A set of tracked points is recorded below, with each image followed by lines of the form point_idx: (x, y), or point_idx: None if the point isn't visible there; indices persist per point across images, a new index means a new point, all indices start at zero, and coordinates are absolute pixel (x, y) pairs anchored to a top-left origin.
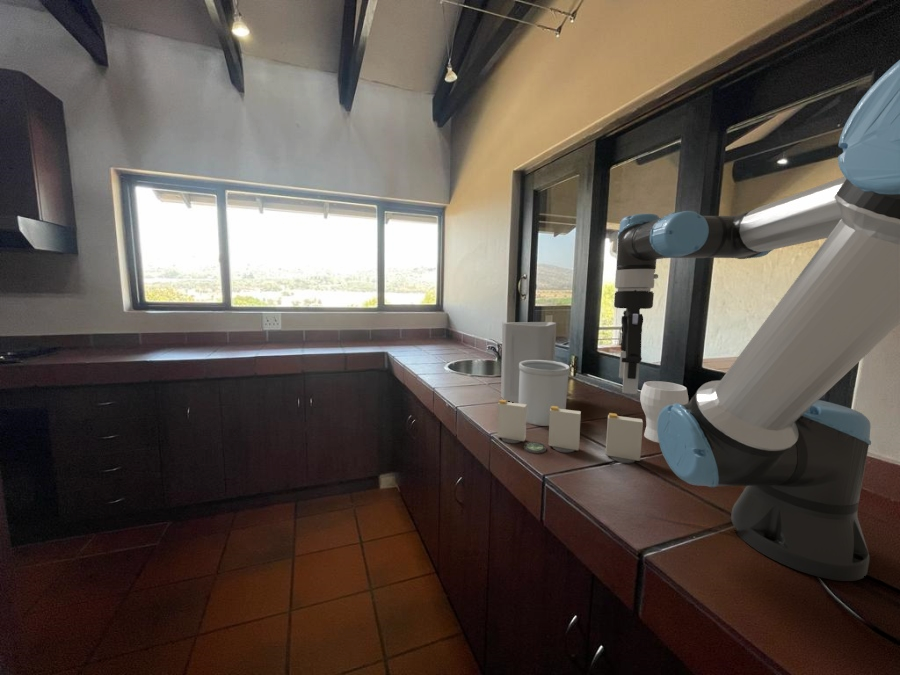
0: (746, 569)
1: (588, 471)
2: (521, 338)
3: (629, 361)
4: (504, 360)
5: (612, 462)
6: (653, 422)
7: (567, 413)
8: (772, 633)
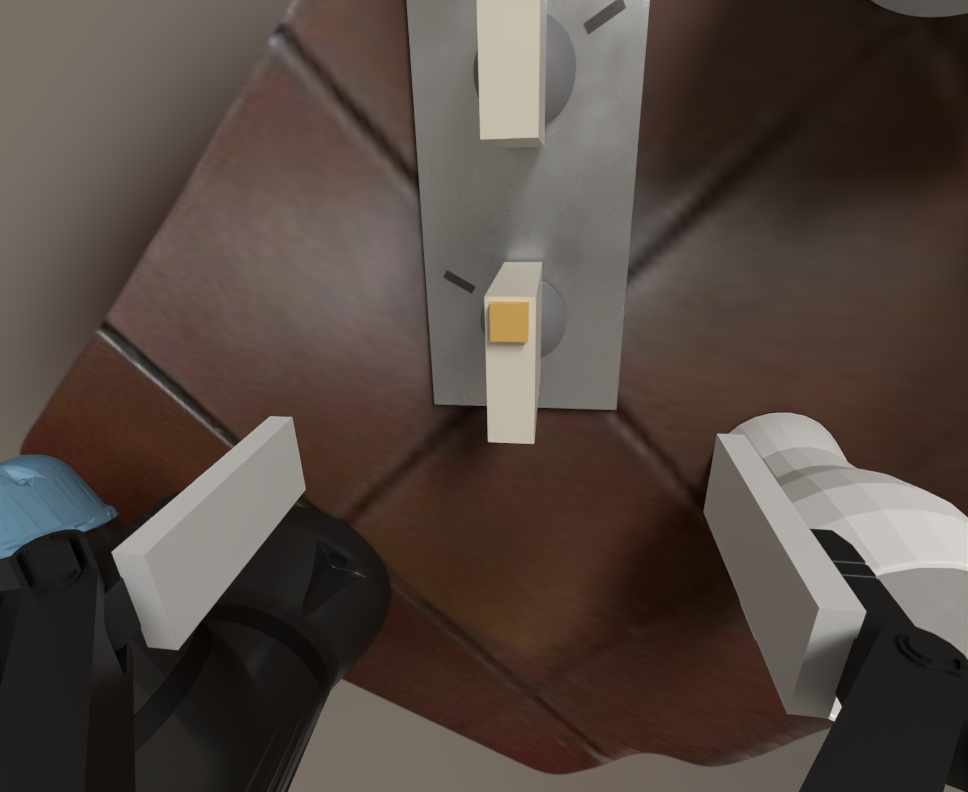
0: (176, 485)
1: (394, 198)
2: None
3: (7, 590)
4: None
5: (469, 283)
6: None
7: (479, 50)
8: None
